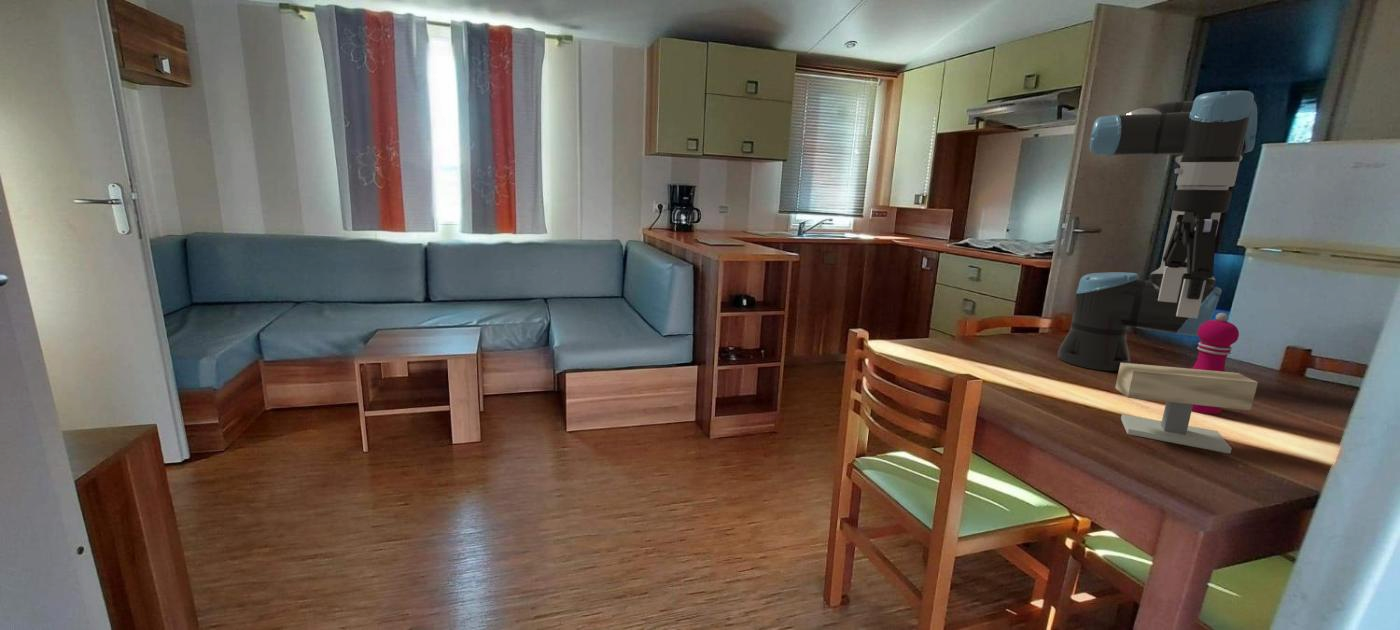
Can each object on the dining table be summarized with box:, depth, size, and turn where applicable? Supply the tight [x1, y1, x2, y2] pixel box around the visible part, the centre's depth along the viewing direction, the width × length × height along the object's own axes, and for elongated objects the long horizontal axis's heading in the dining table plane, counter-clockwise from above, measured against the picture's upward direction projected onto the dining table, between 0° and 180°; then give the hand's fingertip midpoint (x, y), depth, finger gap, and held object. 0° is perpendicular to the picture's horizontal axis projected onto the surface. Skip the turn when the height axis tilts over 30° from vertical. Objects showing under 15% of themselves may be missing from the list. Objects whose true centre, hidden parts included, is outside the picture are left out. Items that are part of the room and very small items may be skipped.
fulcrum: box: [1120, 402, 1233, 454], centre depth 100 cm, size 8×14×7 cm, turn 60°
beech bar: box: [1115, 362, 1259, 411], centre depth 98 cm, size 5×18×5 cm, turn 75°
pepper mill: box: [1191, 312, 1240, 415], centre depth 111 cm, size 7×7×20 cm
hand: (1176, 309), depth 101 cm, fingers open, 13 cm apart
